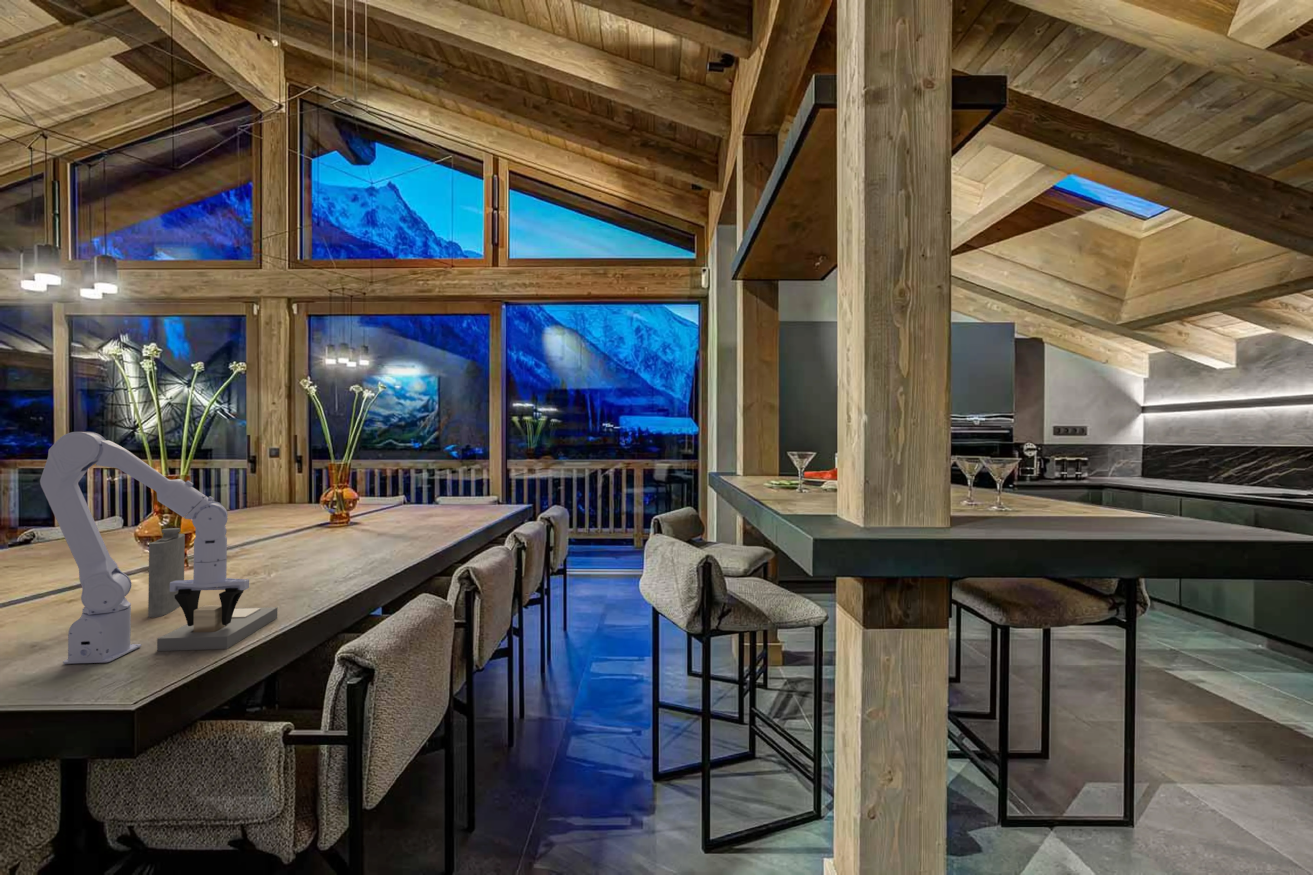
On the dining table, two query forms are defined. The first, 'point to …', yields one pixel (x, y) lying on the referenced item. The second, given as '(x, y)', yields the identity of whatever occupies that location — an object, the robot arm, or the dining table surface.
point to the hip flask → (165, 571)
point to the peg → (208, 618)
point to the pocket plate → (238, 629)
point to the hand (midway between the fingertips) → (209, 624)
